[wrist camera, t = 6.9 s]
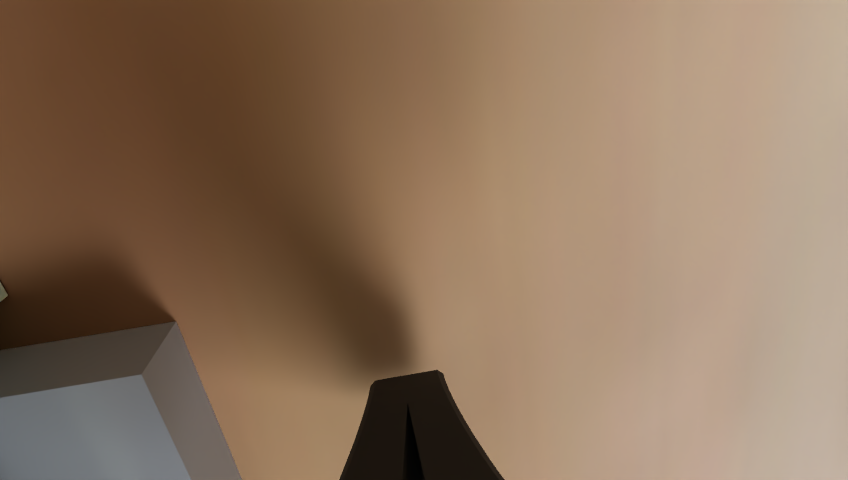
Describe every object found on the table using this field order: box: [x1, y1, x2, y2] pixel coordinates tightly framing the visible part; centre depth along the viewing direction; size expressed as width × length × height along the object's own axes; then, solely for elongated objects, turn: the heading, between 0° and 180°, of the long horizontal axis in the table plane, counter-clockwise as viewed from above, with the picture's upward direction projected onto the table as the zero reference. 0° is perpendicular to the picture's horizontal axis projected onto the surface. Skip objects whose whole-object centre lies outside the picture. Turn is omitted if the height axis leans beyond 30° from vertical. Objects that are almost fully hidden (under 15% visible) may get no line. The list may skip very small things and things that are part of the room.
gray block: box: [0, 321, 242, 480], centre depth 10 cm, size 7×5×2 cm
